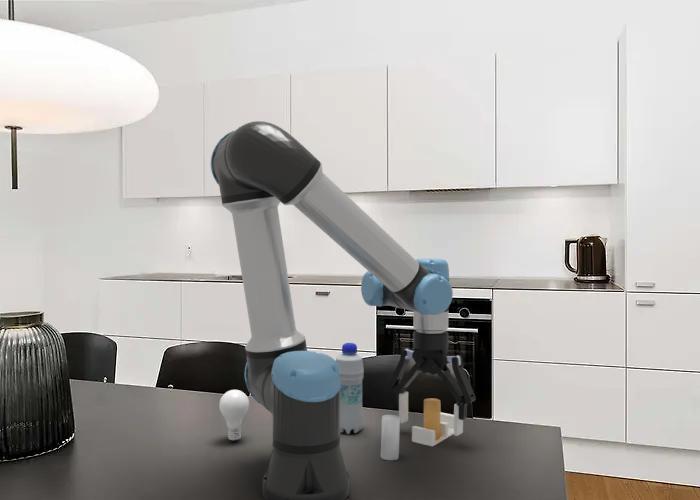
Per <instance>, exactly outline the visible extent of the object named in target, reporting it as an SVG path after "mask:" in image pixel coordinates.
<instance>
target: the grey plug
mask: <svg viewBox="0 0 700 500" xmlns="http://www.w3.org/2000/svg"><path fill="white" fill-rule="evenodd" d="M400 424H401V423H400V417H399V415H395V414H384V415H382V416H381V435H380V436H381V438H380V458H381V459H382V460H385V461H396V460H398V459H399V457H400V455H399V454H400V432H401V431H400V427H401V425H400Z"/></svg>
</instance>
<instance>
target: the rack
mask: <svg viewBox="0 0 700 500" xmlns="http://www.w3.org/2000/svg"><path fill="white" fill-rule="evenodd" d="M451 436H454V414H451V413H445V412H442V411H441V412H440V439H438V440H435V430H431V429H427V428H424V427H422V426H417V425H413V426H412V427H411V442H413V443H416V444H420V445H425V446H429V447H434V446H436V445H438V444H439V443H441V442H443V441H444V440H446V439H448V438H450V437H451Z"/></svg>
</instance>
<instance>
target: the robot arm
mask: <svg viewBox="0 0 700 500" xmlns="http://www.w3.org/2000/svg"><path fill="white" fill-rule="evenodd" d="M210 170H211V174H212V177H213V179H214V180H215V182H216V184H217V185H218V187H219V193H220V199H221V205H222V207H224V208H225V209H226V210H227V211H229V212H230V213H231V214H232V215H231V216H232V221H233V228H234V229H233V230H234V233H235V234H234V235H235V240H236V247H237V248H236V249H237V253H238V259H239V265H240V272H241V277H242V279H241V280H242V284H243V290H244V296H245V303H246V308H247V316H248V322H249V328H250V334H251V337H250V338H249V340H248V342H247V343H246V345H245V346H244V349H245V354H246V363H245V367H244V382H245V385H246V388H247V390H248V392H249V393H250V395H251V397H252V398H253V399H254V400H255V402H257V403H258V404H260V405H261V406H263V408H265V409H266V410H267V411H268V412H270V414H271V415H272V449H271V453H270V455H269V459H268V462H267V465H266V469H265V470H266V471H265V473H264V475H263V478H262V497H263V498H264V499H265V500H346V499H347V498H348V497H349V495H350V492H351V486H350V485H351V479H350V474H349V472H348V471H347V467H346V463H345V459H344V456H343V453H342V449H341V439H340V438H341V437H340V434H341V432H340V387H341V379H340V373H339V366H338V364H337V362H336V359H334V358H333V357H331V356H330V355H328V354H326V353H321V352H319V353H318V352H316V351H312V350H308V348H307V342H306V341H307V340H306V336H305V335H304V334H303V333H301V332H300V331H299V330H297V326H296V322H295V314H294V309H293V308H294V307H293V301H292V295H291V288H290V281H289V274H288V268H287V262H286V255H285V254H286V253H285V248H284V241H283V235H282V228H281V221H280V216H279V215H280V214H279V209H278V206H279V205H280V204H283V205H285V206H288V205H289V206H292V205H293V206H294V208H296V209H297V210H299V212H300V213H302V214H303V215H304V216H305V217H306V218H307V219H309V220H310V221H311V222H312V223H313V224H314V225H315V226H317V227H318V228H319V229H320V230H321V231H322V232H323V233H324V234H326V235H327V236H328V237H329V238H330V239H331V240H333V241H334V243H336V244H337V245H338V246H339V247H340V248H342V249H343V250H344V252H346V253H347V254H348V255H350V256H351V258H353V259H354V260H355V261H357V262H358V263H359V264H360V265H361V266H362V267H363V268H364V269H365V270H366V271H365V272H364V274H363V276H362V279H361V284H360V292H361V297H362V299H363V301H364V302H365V304H366V305H368V306H369V307H384V306H387V307H388V306H391V307H394V308H398V309H403V310H408V311H413V320H412V321H413V324H412V325H413V329H415V330H414V331H413V334H412V335H413V337H412V339H413V341H412V344H413V348H414V349H413V350H411V348H405V349H402V350H401V351H400V358H399V361H398V362H397V365H396V367H395V369H394V371H393V374H392V376H391V379H390V380H389V383H388V388H389V389H390V390H393V391H394V392H395V405H396V407H398V416H399V417H400V424H404V423H406V422H409V391H407V388H408V387H409V386H410V385H411V383H412V382H413V381H414V380H415V379H416V378H417V377H418V375H419V374H420V373H421V374H422V373H423V374H430V375H437V377H438V378H440V379H441V380H442V381H443V384H444V385H445V386H446V387H447V389H448V390H449V392H450V394H451V395H452V396H453V398H454V399H455V402H456V403H454V405H453V415H454V434H453V436H455V437H458V436H460V435H462V434H463V433H464V420H465V419H467V416H468V411H467V410H468V404H470V403H473V402H475V401H476V398H477V397H476V395H475V394H476V393H474V390H473V387H472V385H471V383H470V380H469V378H468V376H467V373H466V370H465V368H464V366H463V357H462V355H460V354H459V355H449V352H448V351H449V332H448V331H447V330H448V329H449V307H450V305H451V303H452V300H453V297H454V296H453V295H454V294H453V288H452V284H451V282H450V269H449V264H448V263H449V262H448V261H447V260H446V259H443V258H417V259H416V258H414V257H413V256H412V255H411V254H410V252H408V250H406V249H404V247H403V246H402V245H400V244H399V243H398V242H397V241H396V240H395V238H393V237H392V236H391V235H390V234H389V233H387V231H386V230H384V229H383V227H381V226H380V224H378V223H377V222H376V221H375V220H374V219H373V218H372V217H370V216H369V214H367V213H366V212H365V211H364V210H363V209H362V208H361V207H360V206H359V205H358V204H357V203H356V202H355V201H353V199H352V198H350V197H349V196H348V195H347V193H345V192H344V191H343V190H342V189H341V188H340V187H339V186H338V185H336V183H334V181H332V180H331V178H329V177H328V176H327V175H326V174H325V173H324V172H323V164H322V162H321V161H319V159H317V157H315V156H314V154H313V153H311V151H309V150H308V149H307V148H306V147H305V146H304V145H303V144H301V143H300V141H299V140H297V139H296V138H295V137H294V136H292V135H291V134H290V133H289V132H287V131H286V130H285V129H283V128H282V127H280V126H278V125H276V124H274V123H271V122H268V121H260V120H257V121H250V122H246V123H244V124H243V125H241V126H239V127H238V128H237V129H235V130H232V131H230V132H228V133H226V134H225V135H224V136H223V137H222V138H220V140H219V141H218V142H217V143H216V145H215V146H214V149H213V151H212V153H211V157H210ZM412 358H413V361H414V362H415V363H414V364H413V365H412V367H411V368H410V370H409V371H408V373H407V374H406V375H405V371H406V370H407V367H408V365H409V364H410V360H411V359H412ZM448 364H449V366H450V367H452V370H453V373H454V376H455V377H454V376H453V374H452V372H451V370H450V368H449V366H448ZM404 375H405V376H404ZM403 376H404V377H403ZM456 380H457V381H456Z"/></svg>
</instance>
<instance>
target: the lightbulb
mask: <svg viewBox="0 0 700 500" xmlns="http://www.w3.org/2000/svg"><path fill="white" fill-rule="evenodd" d="M218 406H219V407H218V408H219V411H220V414H221V415H222V417H223V418H224V420H225V424H226V426H227V431H228V432H227V435H228V436H227V437H228V438H227V439H228V440H230V441H232V442H237V441H239V440H240V439H242V434H241V433H242V432H241V431H242V430H241V429H242V425H243V421H244V418H245V416H246V415H247V413H248V411H249V408H250V400H249V397H248V396H247V394H246V393H244V392H243V390H239V389H230V390H227V391H226V392H225V393H224V394H223V395H222V396H221V398H220V399H219V403H218Z"/></svg>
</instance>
